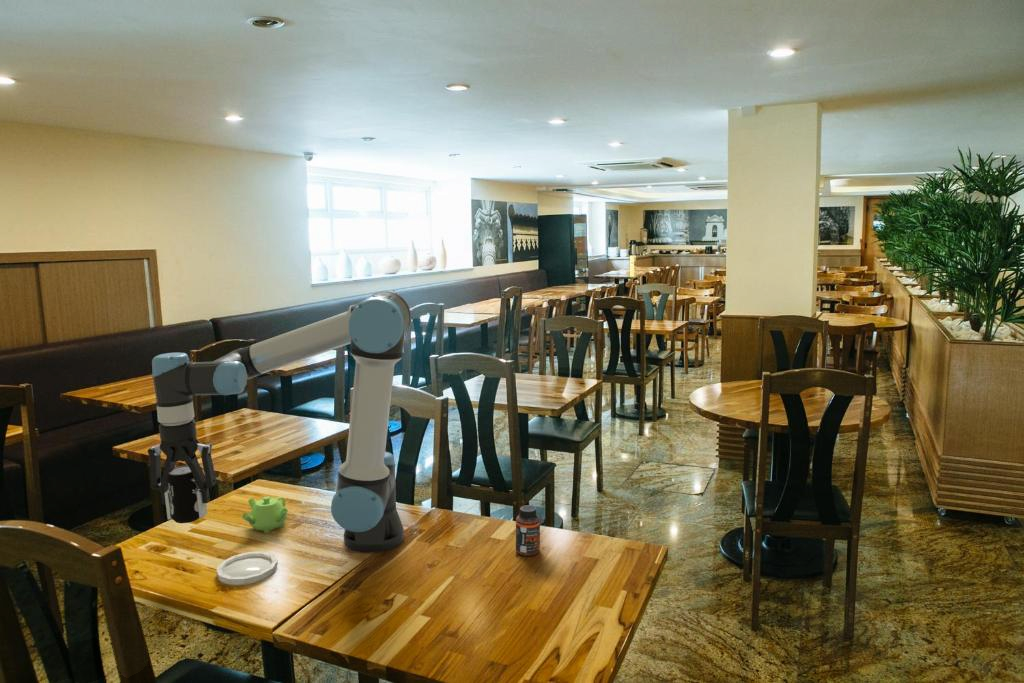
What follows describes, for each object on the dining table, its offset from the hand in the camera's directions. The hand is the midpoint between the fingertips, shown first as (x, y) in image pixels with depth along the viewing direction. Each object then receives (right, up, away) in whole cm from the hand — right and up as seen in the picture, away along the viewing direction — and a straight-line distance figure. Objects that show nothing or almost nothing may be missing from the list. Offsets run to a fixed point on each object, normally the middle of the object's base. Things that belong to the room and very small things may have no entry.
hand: (187, 516), depth 161 cm
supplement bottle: (+79, -11, +9) cm, 81 cm away
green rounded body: (+10, -9, +23) cm, 27 cm away
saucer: (+14, -13, +1) cm, 19 cm away
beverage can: (0, -1, 0) cm, 1 cm away
